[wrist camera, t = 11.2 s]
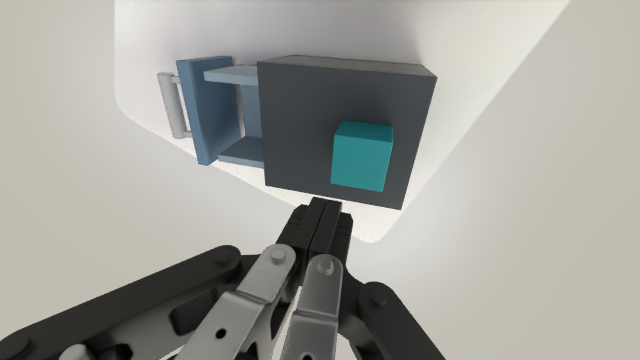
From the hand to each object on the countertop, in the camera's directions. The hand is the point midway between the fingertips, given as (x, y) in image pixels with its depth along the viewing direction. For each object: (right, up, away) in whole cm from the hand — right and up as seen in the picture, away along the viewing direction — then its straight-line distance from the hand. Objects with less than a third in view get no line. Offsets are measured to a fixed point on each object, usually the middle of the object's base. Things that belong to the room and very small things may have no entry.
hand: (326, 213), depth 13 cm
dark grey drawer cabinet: (+3, +9, +16) cm, 19 cm away
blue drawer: (-8, +11, +17) cm, 22 cm away
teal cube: (+3, +5, +8) cm, 10 cm away
